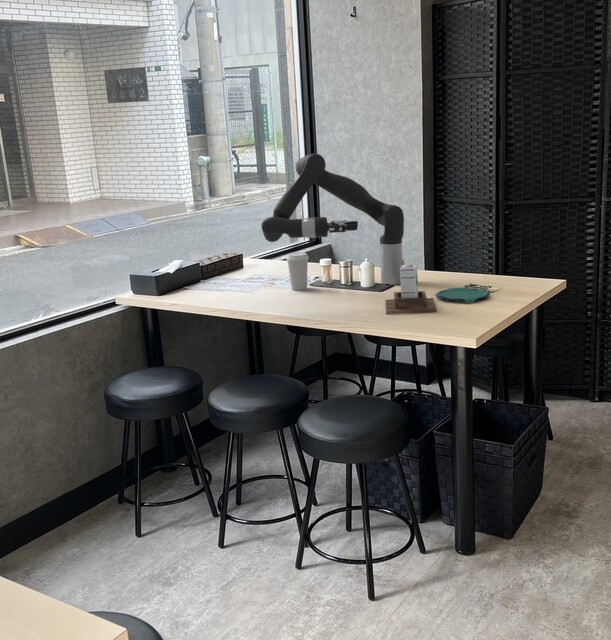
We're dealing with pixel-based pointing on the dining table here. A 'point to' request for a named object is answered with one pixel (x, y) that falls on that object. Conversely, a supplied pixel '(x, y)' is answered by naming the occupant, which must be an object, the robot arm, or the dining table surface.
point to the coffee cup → (298, 270)
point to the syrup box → (409, 281)
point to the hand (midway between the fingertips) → (357, 225)
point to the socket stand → (410, 304)
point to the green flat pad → (464, 293)
